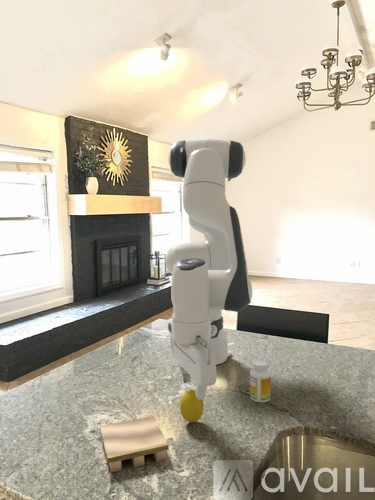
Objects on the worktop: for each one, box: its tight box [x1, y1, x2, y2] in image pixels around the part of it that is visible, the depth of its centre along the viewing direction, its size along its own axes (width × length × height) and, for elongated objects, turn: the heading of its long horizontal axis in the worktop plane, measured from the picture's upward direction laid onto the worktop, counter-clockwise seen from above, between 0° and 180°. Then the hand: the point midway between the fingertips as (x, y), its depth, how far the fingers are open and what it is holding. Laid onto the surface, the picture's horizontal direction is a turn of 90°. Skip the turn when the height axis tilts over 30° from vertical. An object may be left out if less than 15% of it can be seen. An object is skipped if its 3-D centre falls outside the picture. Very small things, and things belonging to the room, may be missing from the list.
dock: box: [99, 415, 170, 473], centre depth 82 cm, size 12×12×3 cm
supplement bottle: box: [249, 359, 272, 403], centre depth 103 cm, size 5×5×10 cm
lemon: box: [179, 389, 205, 424], centre depth 92 cm, size 6×6×8 cm
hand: (192, 389), depth 91 cm, fingers open, 8 cm apart
